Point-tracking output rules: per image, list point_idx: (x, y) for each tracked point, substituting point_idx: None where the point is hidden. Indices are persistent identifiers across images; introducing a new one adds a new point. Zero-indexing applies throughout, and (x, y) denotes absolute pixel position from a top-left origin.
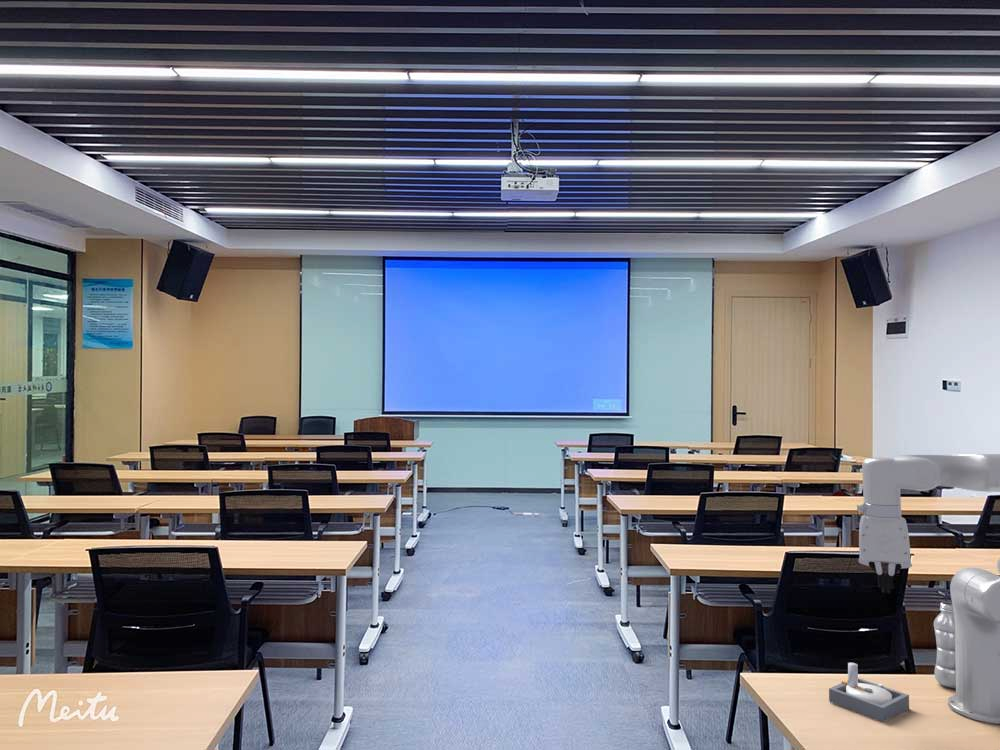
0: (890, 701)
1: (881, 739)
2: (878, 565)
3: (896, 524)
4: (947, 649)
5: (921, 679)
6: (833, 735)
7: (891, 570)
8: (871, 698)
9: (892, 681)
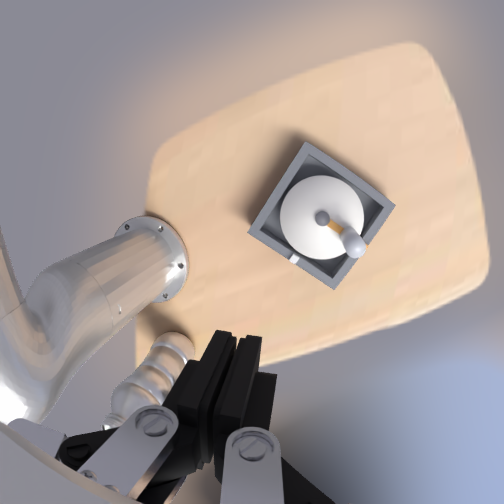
0: (287, 181)
1: (315, 74)
2: (247, 501)
3: None
4: (155, 369)
5: None
6: (386, 65)
7: (141, 439)
8: (322, 180)
9: None
